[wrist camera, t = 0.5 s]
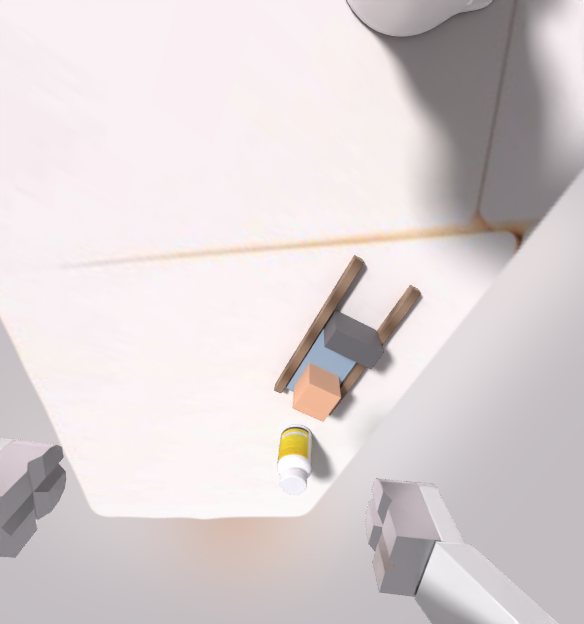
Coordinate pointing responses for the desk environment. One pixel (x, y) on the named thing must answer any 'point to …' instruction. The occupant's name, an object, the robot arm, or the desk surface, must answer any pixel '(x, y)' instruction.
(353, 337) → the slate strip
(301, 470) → the supplement bottle
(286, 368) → the guide rails
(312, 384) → the terracotta cube
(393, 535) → the robot arm
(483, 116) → the desk surface
